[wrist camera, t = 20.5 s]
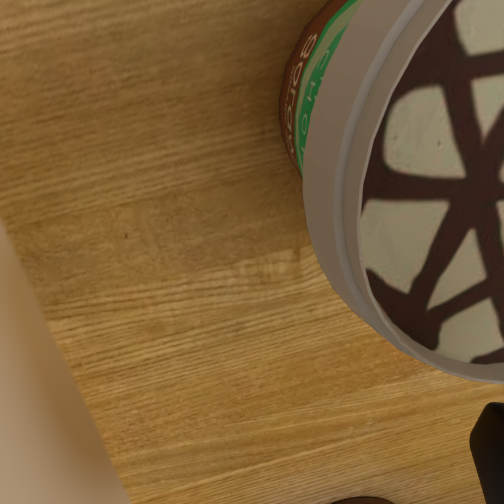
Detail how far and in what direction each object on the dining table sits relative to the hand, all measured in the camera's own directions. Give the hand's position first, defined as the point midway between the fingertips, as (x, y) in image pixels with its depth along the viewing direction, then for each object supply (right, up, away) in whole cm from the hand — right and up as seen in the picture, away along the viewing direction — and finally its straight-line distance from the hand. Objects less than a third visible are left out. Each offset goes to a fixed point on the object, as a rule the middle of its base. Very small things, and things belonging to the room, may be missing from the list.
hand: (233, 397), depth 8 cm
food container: (+3, +8, +11) cm, 14 cm away
